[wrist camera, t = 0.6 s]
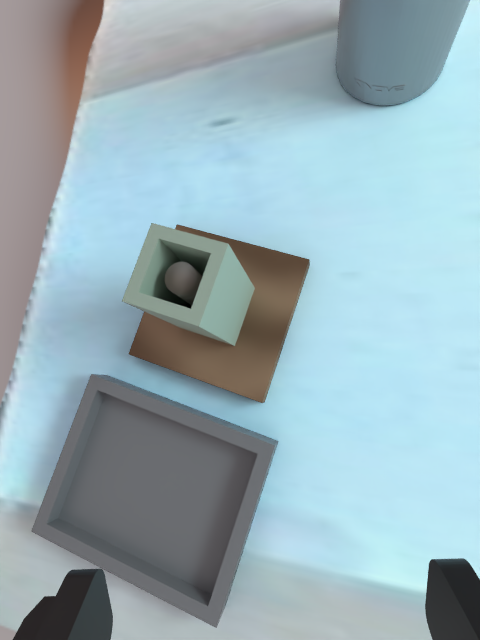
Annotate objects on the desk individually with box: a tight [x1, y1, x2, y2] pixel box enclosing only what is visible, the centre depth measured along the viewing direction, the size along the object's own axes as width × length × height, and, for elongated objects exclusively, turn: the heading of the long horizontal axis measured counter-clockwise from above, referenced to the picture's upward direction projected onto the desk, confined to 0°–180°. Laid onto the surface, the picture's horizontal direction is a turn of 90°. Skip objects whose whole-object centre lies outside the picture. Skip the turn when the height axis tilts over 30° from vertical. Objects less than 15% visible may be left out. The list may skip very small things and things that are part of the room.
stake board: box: [129, 225, 310, 403], centre depth 29 cm, size 12×12×10 cm
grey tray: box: [32, 374, 278, 627], centre depth 31 cm, size 13×16×2 cm
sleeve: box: [122, 223, 255, 346], centre depth 27 cm, size 5×5×10 cm
